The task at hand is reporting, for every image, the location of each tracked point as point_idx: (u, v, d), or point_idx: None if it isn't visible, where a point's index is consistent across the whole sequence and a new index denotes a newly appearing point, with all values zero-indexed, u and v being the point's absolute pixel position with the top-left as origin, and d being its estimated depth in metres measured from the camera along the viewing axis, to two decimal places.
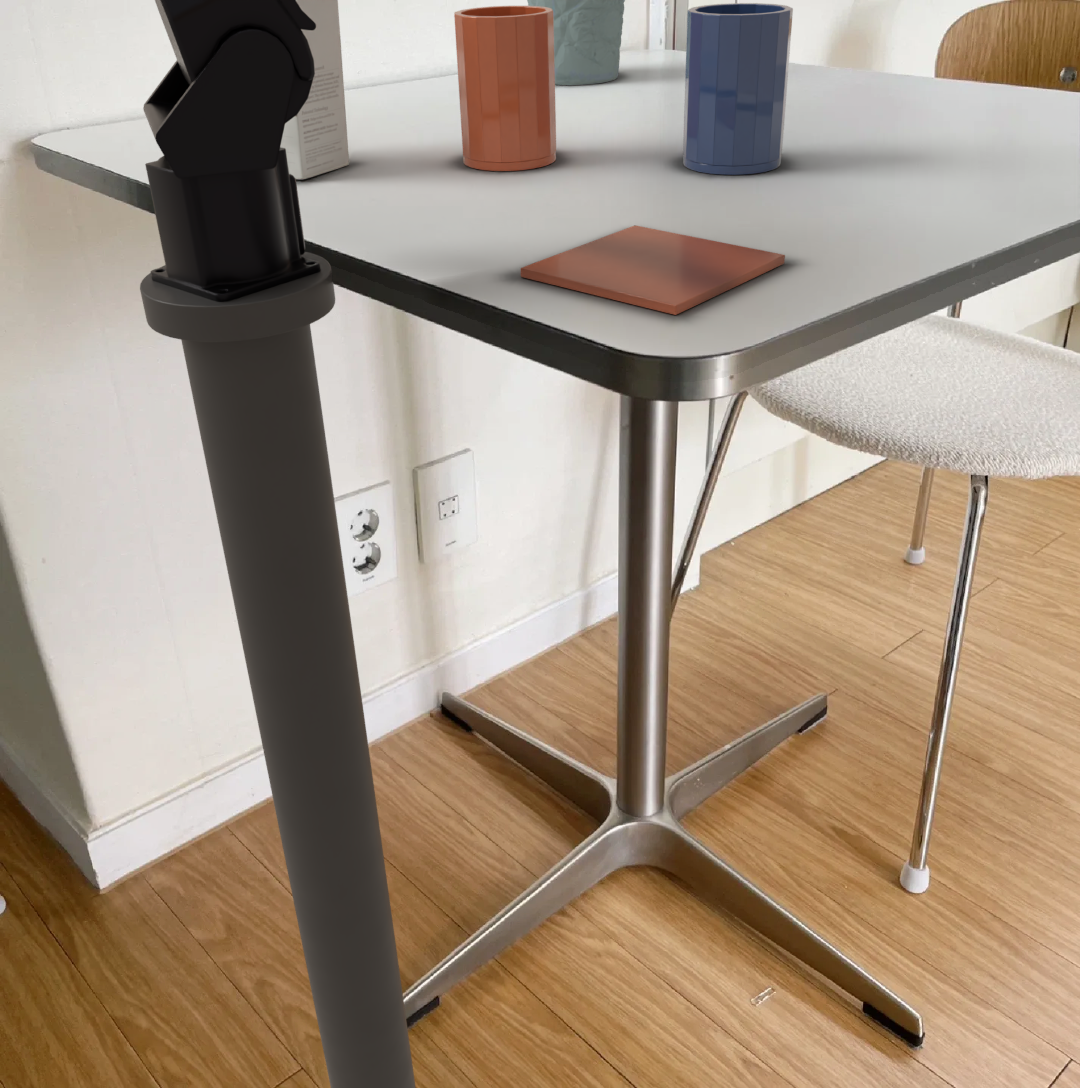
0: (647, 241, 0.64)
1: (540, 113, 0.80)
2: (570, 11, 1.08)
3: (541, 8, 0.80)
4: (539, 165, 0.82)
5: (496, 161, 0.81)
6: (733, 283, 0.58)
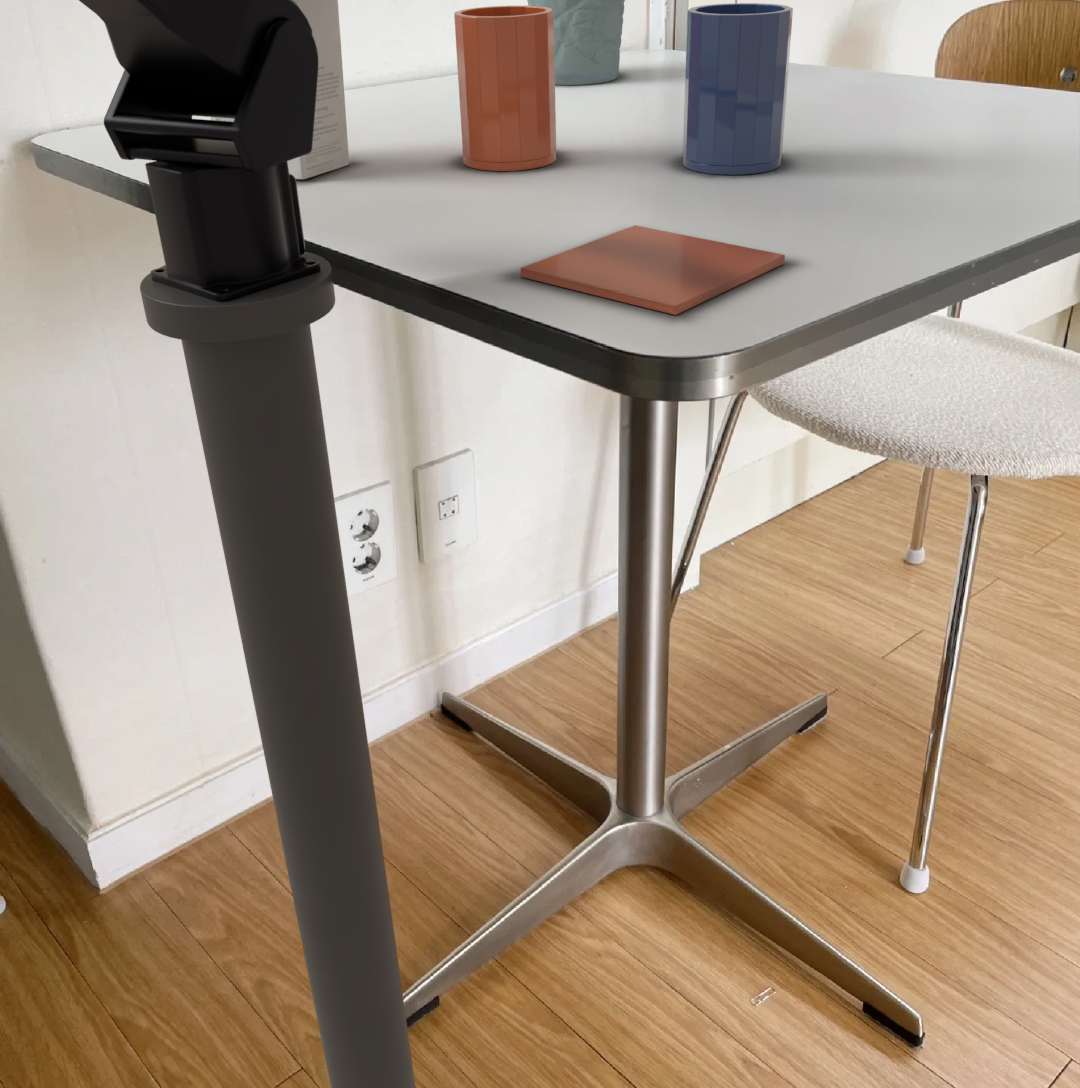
0: (647, 241, 0.64)
1: (540, 113, 0.80)
2: (570, 11, 1.08)
3: (541, 8, 0.80)
4: (539, 165, 0.82)
5: (496, 161, 0.81)
6: (733, 283, 0.58)
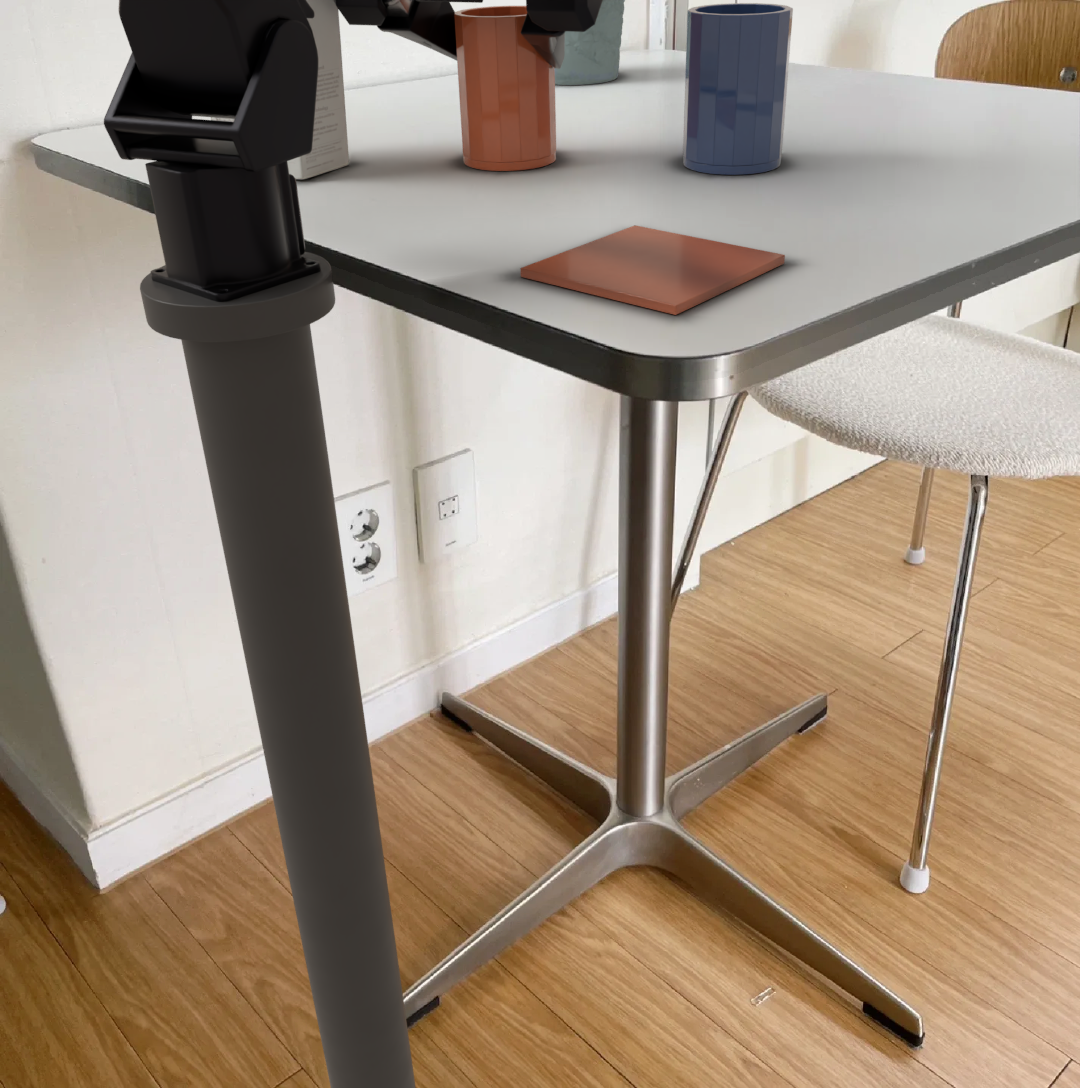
0: (647, 241, 0.64)
1: (540, 113, 0.80)
2: None
3: None
4: (539, 165, 0.82)
5: (496, 161, 0.81)
6: (733, 283, 0.58)
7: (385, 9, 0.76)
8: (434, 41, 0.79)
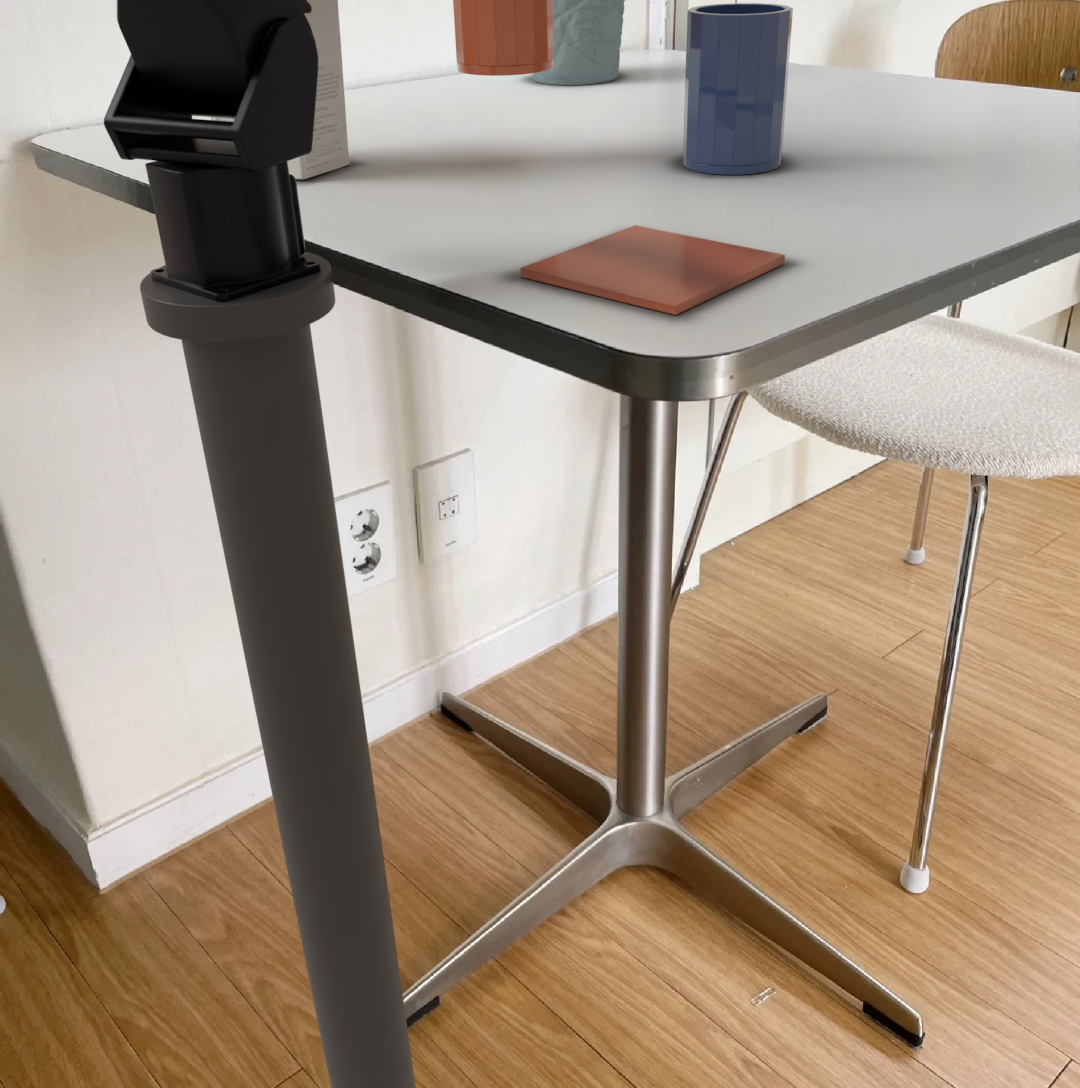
0: (647, 241, 0.64)
1: (537, 14, 0.77)
2: (570, 11, 1.08)
3: None
4: (536, 70, 0.79)
5: (491, 65, 0.78)
6: (733, 283, 0.58)
7: None
8: None
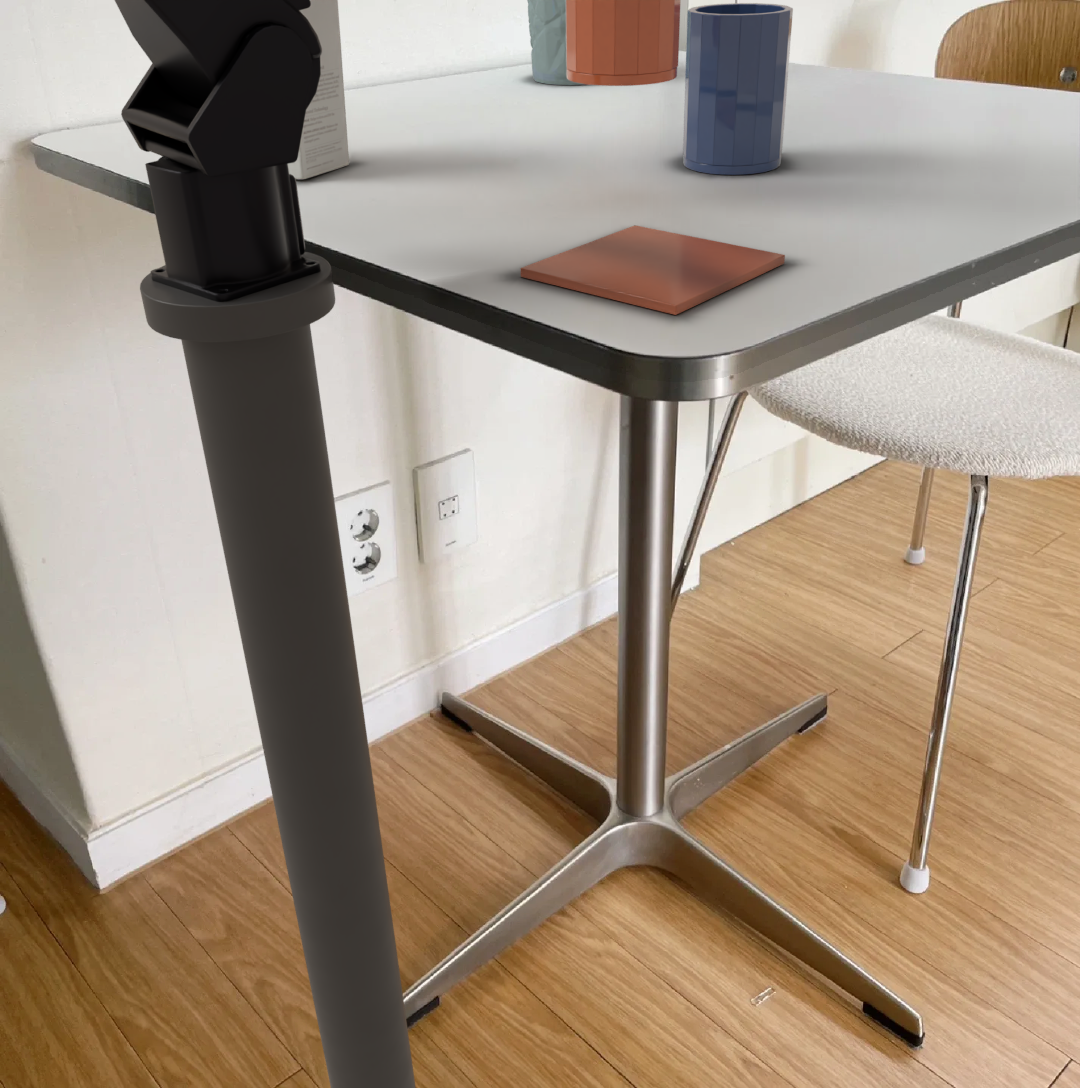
0: (647, 241, 0.64)
1: (644, 17, 0.66)
2: None
3: None
4: (639, 82, 0.68)
5: (587, 72, 0.68)
6: (733, 283, 0.58)
7: None
8: None
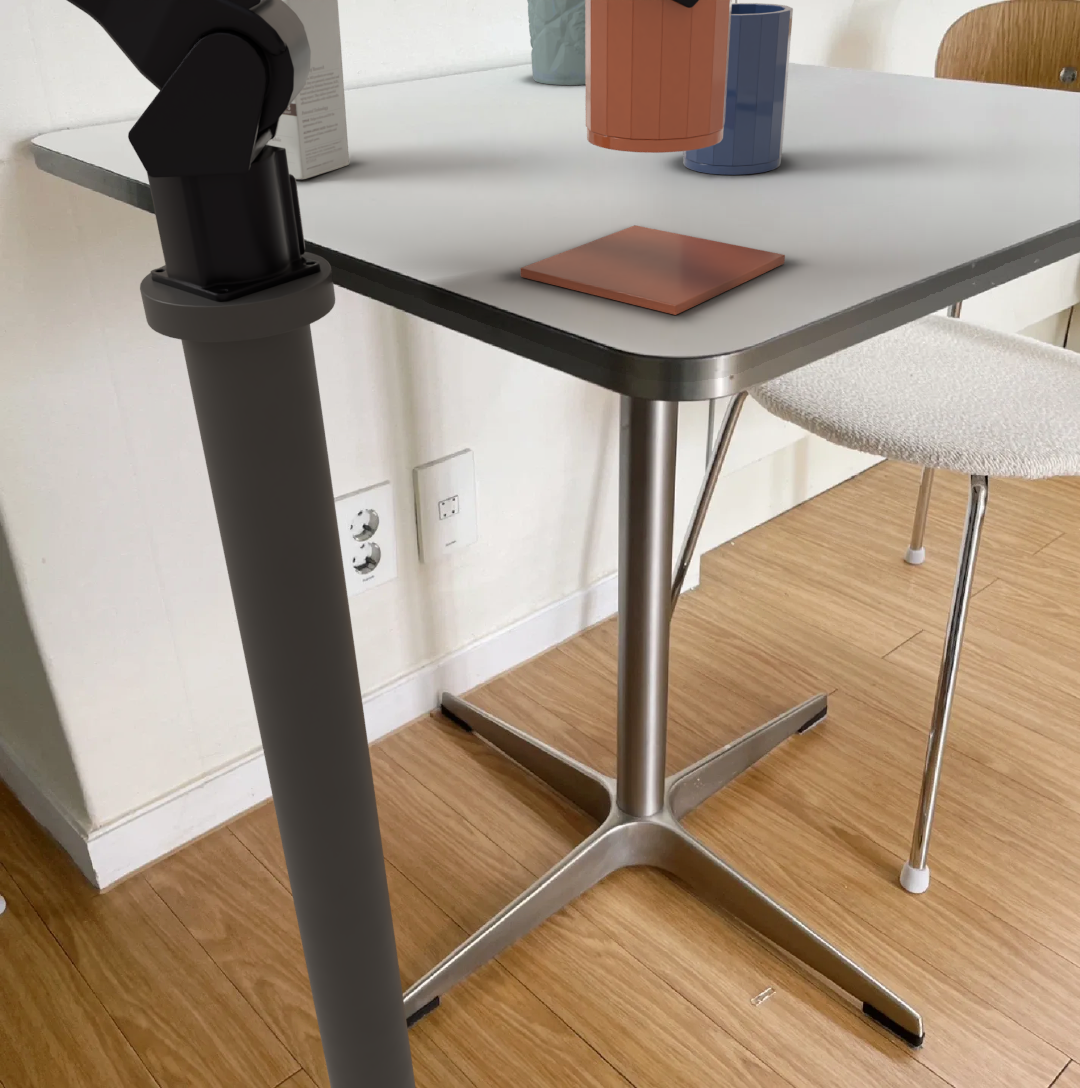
0: (647, 241, 0.64)
1: (640, 70, 0.53)
2: (570, 11, 1.08)
3: None
4: (634, 149, 0.55)
5: (589, 128, 0.56)
6: (733, 283, 0.58)
7: None
8: None
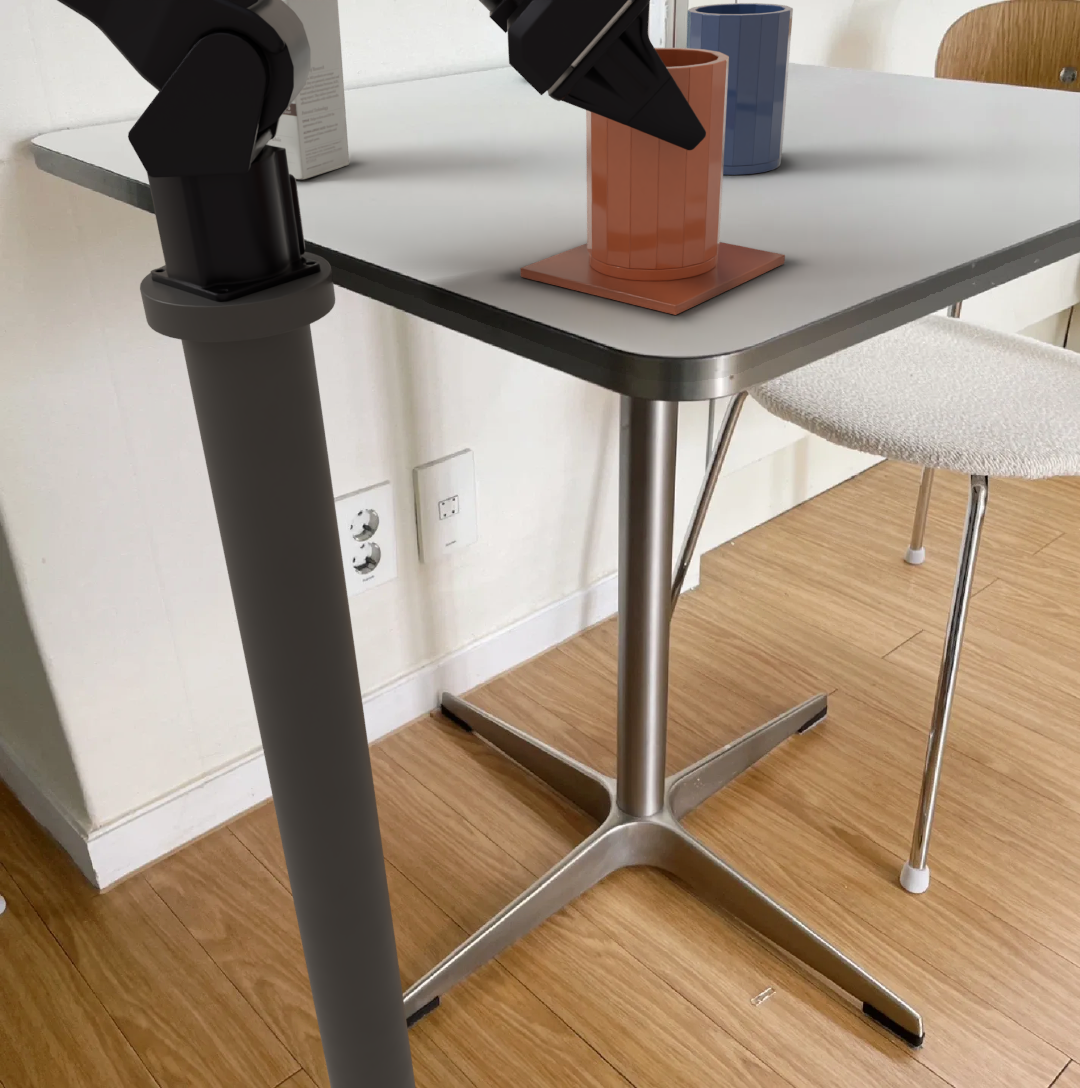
0: None
1: (638, 207, 0.56)
2: None
3: (711, 62, 0.54)
4: (632, 277, 0.58)
5: (591, 254, 0.60)
6: (733, 283, 0.58)
7: None
8: None
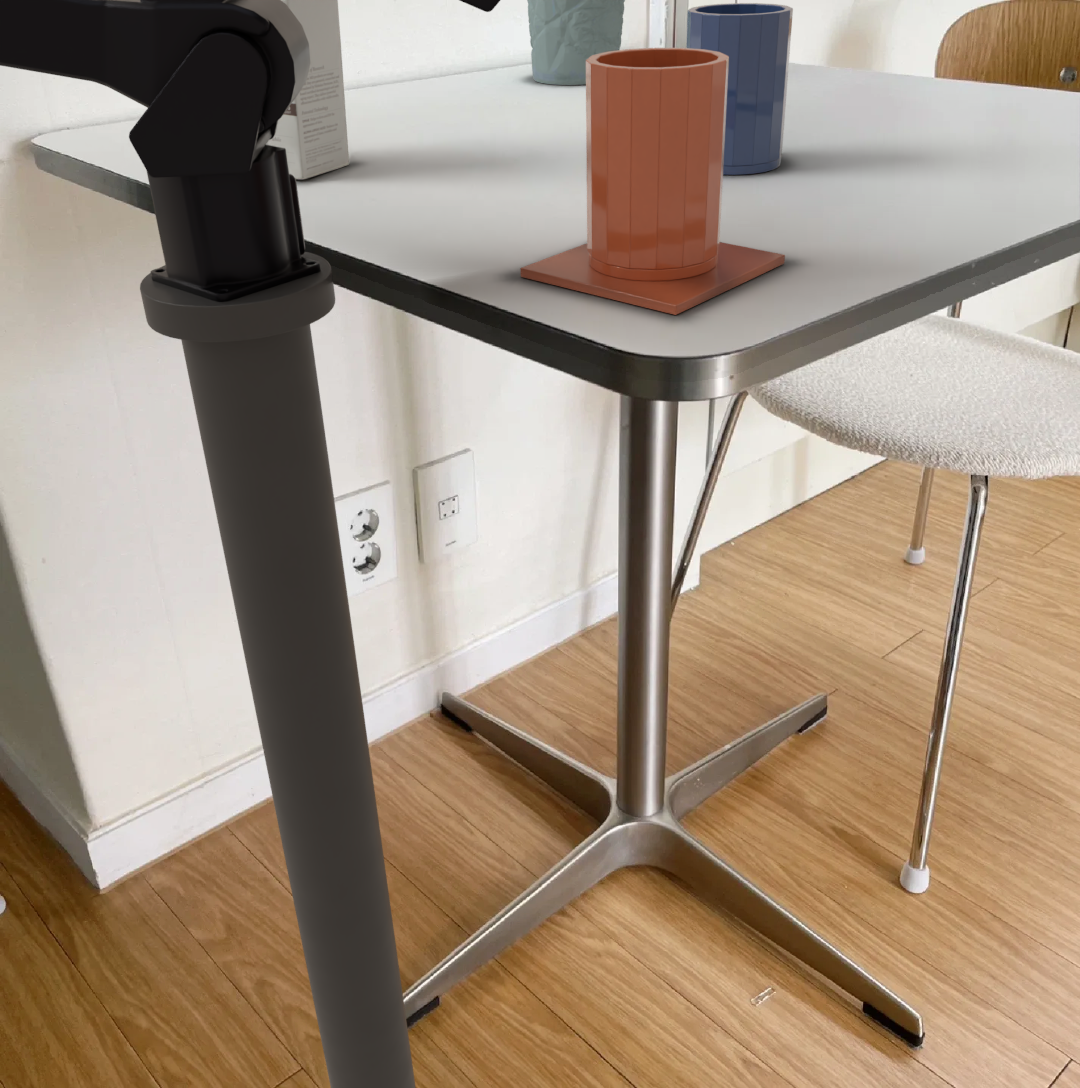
0: None
1: (638, 207, 0.56)
2: (570, 11, 1.08)
3: (711, 62, 0.54)
4: (632, 277, 0.58)
5: (591, 254, 0.60)
6: (733, 283, 0.58)
7: None
8: None
